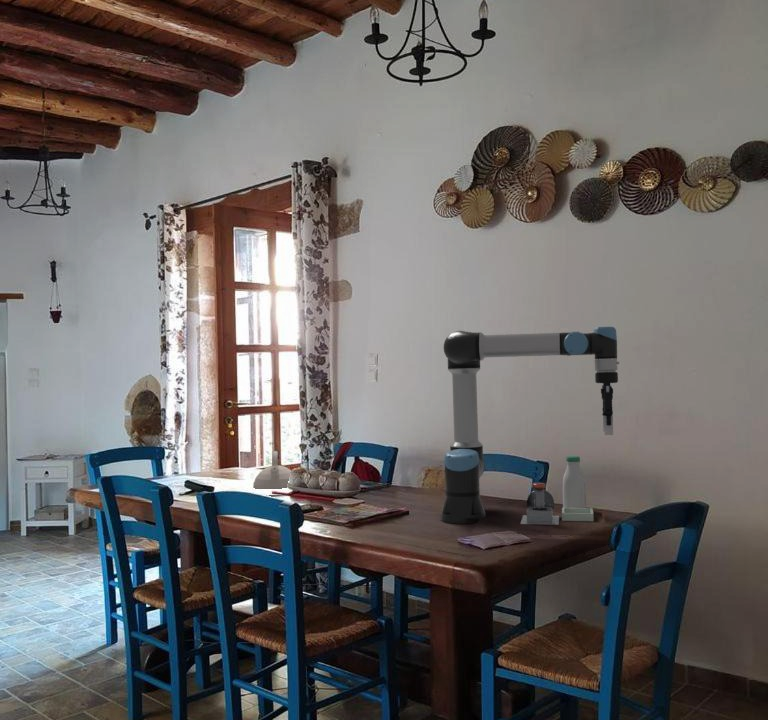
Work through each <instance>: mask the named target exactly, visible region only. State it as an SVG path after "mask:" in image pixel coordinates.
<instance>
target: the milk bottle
mask: <svg viewBox="0 0 768 720" xmlns="http://www.w3.org/2000/svg"><path fill="white" fill-rule="evenodd" d="M565 459H566V464H567V465H566V469H565V470H564V471H565V472H564V474H563V477H562V508H587V502H586V501H587V499H586V496H587V495H586V494H587V493H586V481H585V476H584V474H583V472H582V469H581V467H580V461H581V458H580V456H576V455H570V456H566V457H565Z"/></svg>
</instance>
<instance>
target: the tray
mask: <svg viewBox="0 0 768 720" xmlns="http://www.w3.org/2000/svg"><path fill="white" fill-rule="evenodd" d="M561 521H563V522H564V521H565V522H594V509H593V507H586V508H563V507H562V508H561Z"/></svg>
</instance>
